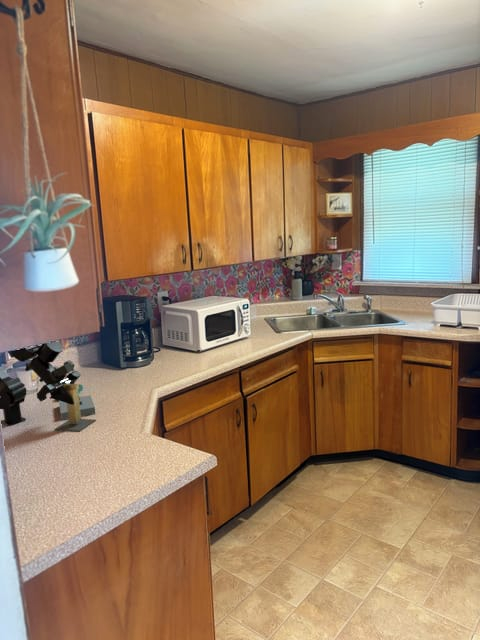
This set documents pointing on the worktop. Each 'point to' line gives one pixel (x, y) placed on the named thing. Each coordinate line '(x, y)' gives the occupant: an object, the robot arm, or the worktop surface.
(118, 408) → the worktop surface
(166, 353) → the worktop surface
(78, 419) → the brass key
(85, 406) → the block
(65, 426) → the rubber mat
